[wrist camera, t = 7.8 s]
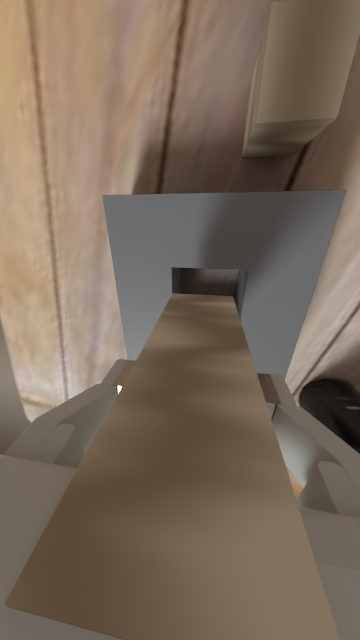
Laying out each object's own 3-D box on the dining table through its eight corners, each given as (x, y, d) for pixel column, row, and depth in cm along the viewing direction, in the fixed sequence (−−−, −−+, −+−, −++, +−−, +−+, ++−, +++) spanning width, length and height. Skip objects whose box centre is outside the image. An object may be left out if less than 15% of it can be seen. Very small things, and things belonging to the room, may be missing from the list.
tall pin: (232, 296, 13) (360, 706, 2) (226, 347, 14) (272, 703, 4) (172, 293, 13) (4, 603, 2) (173, 342, 15) (79, 646, 4)
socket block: (310, 198, 16) (346, 189, 12) (270, 353, 23) (283, 384, 19) (129, 202, 18) (102, 195, 14) (143, 342, 26) (128, 367, 21)
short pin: (309, 80, 13) (372, -13, 8) (293, 154, 15) (337, 117, 10) (249, 86, 14) (271, 2, 9) (241, 157, 16) (255, 123, 10)
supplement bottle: (351, 370, 23) (472, 499, 12) (359, 409, 25) (467, 545, 14) (289, 384, 25) (346, 503, 14) (302, 418, 27) (359, 542, 17)
